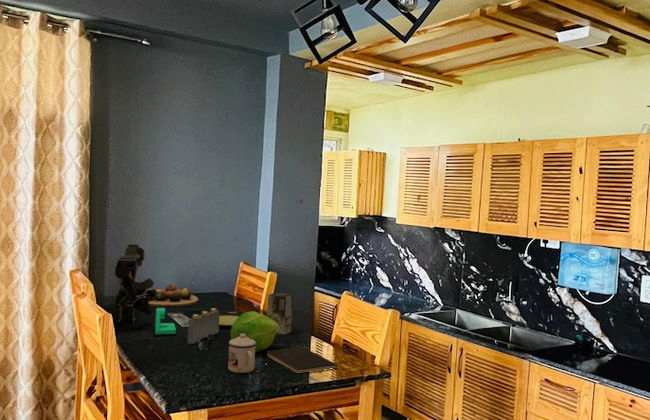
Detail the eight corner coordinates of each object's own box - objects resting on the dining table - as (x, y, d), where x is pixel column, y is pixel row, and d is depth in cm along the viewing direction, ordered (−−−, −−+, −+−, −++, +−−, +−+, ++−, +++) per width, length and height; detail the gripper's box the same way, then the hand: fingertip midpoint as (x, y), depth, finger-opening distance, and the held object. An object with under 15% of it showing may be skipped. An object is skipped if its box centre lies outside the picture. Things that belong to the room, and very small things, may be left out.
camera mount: (175, 336, 221) (176, 310, 221) (155, 337, 219) (156, 311, 219) (173, 329, 233) (174, 304, 233) (154, 329, 230) (155, 305, 230)
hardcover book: (296, 376, 181) (297, 369, 181) (265, 357, 200) (266, 351, 200) (337, 370, 189) (337, 363, 189) (303, 352, 209) (304, 346, 209)
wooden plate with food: (151, 294, 307) (152, 280, 307) (206, 299, 303) (207, 284, 303) (123, 305, 276) (124, 289, 276) (184, 310, 271) (184, 293, 271)
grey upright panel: (193, 343, 211) (194, 316, 211) (187, 343, 212) (188, 315, 212) (218, 332, 230) (219, 307, 230) (213, 331, 231) (214, 307, 231)
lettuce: (287, 350, 209) (290, 319, 205) (240, 365, 198) (241, 332, 193) (268, 333, 220) (270, 302, 216) (222, 346, 209) (222, 314, 205)
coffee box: (291, 332, 238) (293, 294, 238) (284, 335, 232) (286, 296, 232) (273, 328, 242) (275, 292, 241) (265, 331, 236) (267, 294, 236)
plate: (271, 321, 257) (271, 316, 257) (237, 333, 231) (237, 327, 231) (221, 313, 268) (221, 308, 268) (183, 324, 243) (184, 318, 243)
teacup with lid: (222, 366, 185) (224, 332, 185) (247, 363, 190) (249, 329, 190) (237, 377, 175) (239, 341, 175) (263, 373, 180) (265, 338, 180)
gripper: (126, 275, 221) (148, 305, 217) (154, 270, 238) (175, 298, 235) (109, 292, 223) (131, 323, 220) (138, 286, 241) (159, 314, 238)
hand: (150, 314), depth 228 cm, fingers closed
